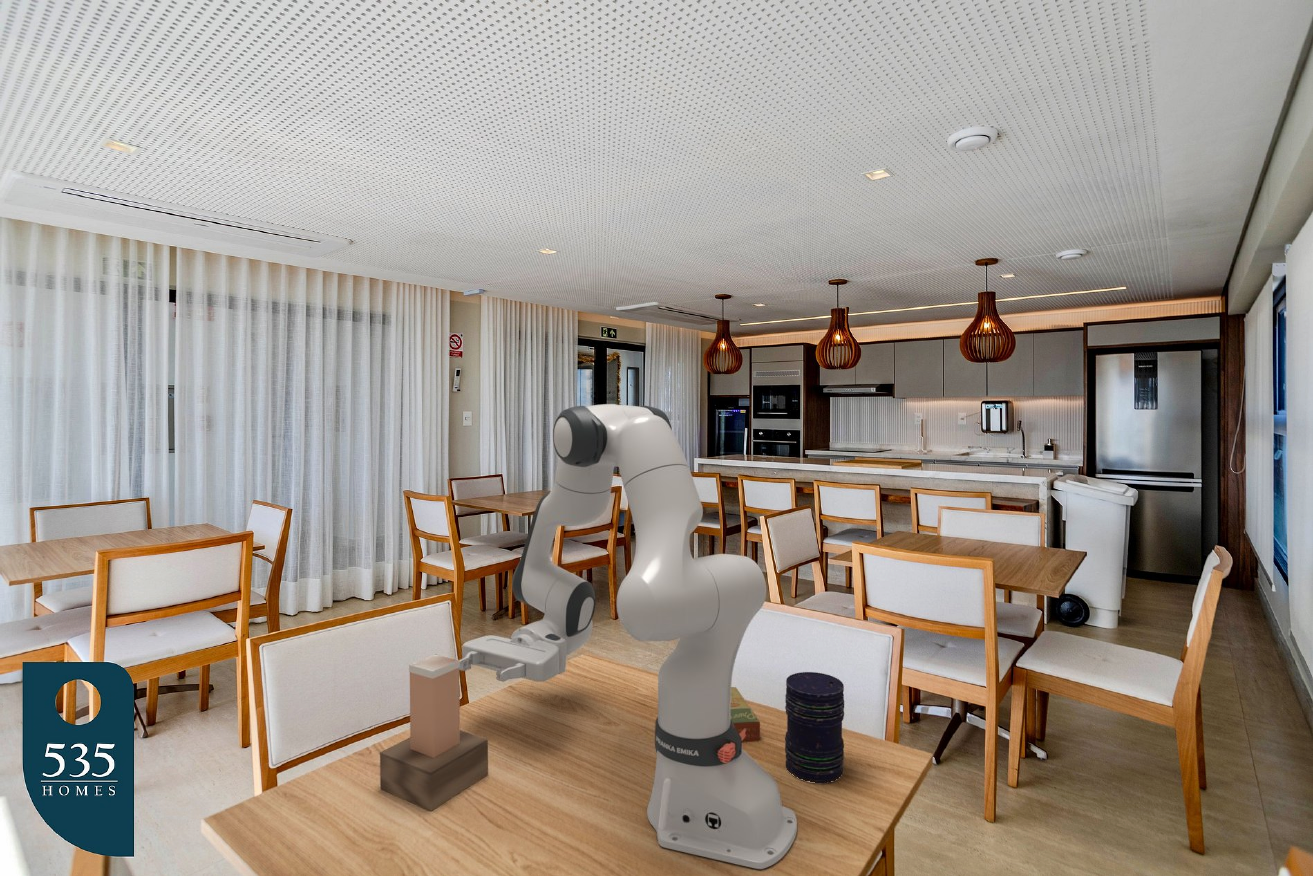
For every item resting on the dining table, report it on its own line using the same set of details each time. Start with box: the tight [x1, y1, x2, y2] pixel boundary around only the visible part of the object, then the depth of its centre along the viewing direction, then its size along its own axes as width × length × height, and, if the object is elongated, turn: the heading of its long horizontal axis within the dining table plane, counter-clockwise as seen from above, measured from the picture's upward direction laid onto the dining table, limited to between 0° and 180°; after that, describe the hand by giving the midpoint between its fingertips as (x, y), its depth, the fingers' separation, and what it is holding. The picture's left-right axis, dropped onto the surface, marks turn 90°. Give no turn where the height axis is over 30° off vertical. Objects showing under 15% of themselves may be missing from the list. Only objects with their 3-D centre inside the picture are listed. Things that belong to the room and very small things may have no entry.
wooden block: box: [379, 729, 489, 812], centre depth 108 cm, size 12×12×6 cm
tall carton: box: [408, 653, 461, 758], centre depth 108 cm, size 6×6×14 cm
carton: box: [730, 686, 761, 742], centre depth 129 cm, size 8×16×4 cm, turn 9°
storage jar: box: [784, 671, 845, 783], centre depth 112 cm, size 10×10×15 cm
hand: (479, 671), depth 117 cm, fingers open, 8 cm apart
